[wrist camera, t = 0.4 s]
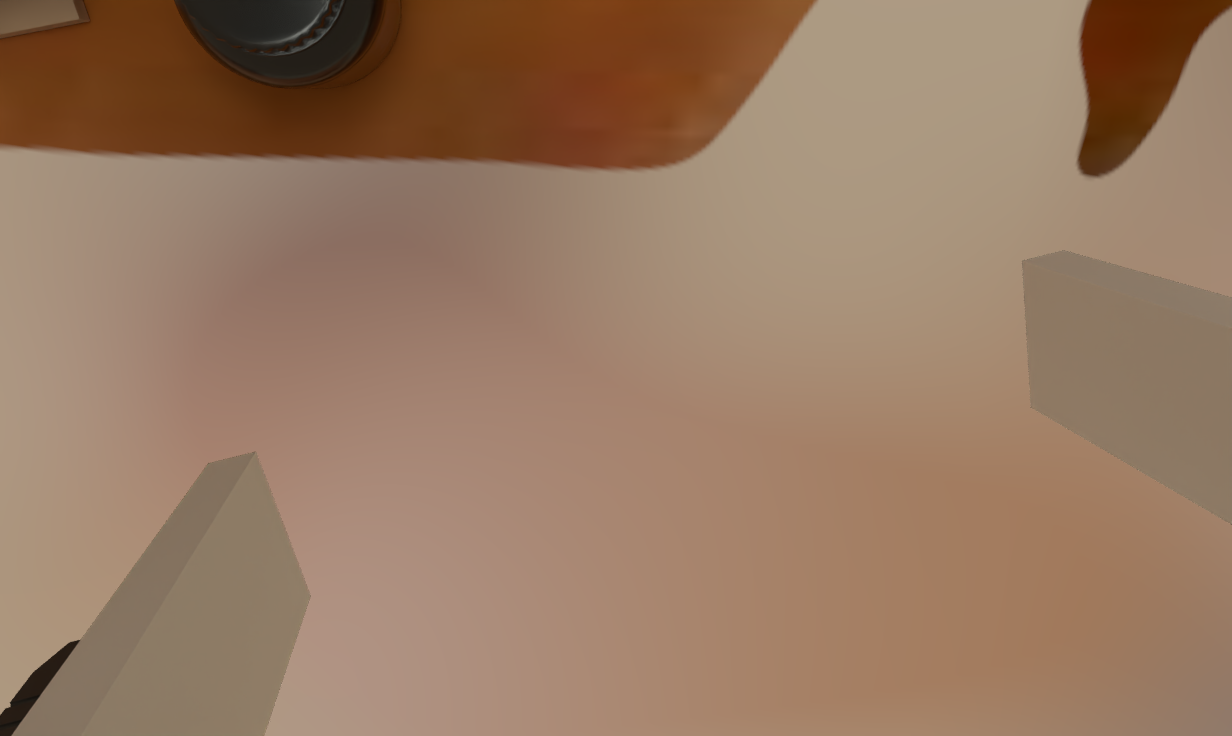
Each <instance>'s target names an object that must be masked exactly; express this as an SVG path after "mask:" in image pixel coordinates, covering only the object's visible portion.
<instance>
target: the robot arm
mask: <svg viewBox="0 0 1232 736" xmlns="http://www.w3.org/2000/svg"><path fill="white" fill-rule="evenodd" d="M1022 268H1023V285H1024V301H1025V318H1026V335H1027V352H1028V368H1029V385H1030V402H1031V408H1033V409H1035V410H1036V411H1038V412H1040V413H1041V414H1043V415H1045V416H1047V417H1048V418H1050V419H1052V420H1053V421H1055V422H1057V423H1059V424H1060V425H1062V426H1064V427H1065V428H1067V429H1069V430H1071V431H1072V432H1074V433H1076V434H1077V435H1079V436H1081V437H1083V438H1084V439H1086V440H1088V441H1089V442H1091V443H1093V444H1095V445H1096V446H1098V447H1100V448H1101V449H1103V450H1105V451H1107V452H1108V453H1110V454H1112V455H1114V456H1115V457H1117V458H1118V459H1121V460H1122V461H1124V462H1125V463H1127V464H1129V465H1130V466H1132V467H1134V468H1136V469H1137V470H1139V471H1141V472H1142V473H1144V474H1146V475H1148V476H1149V477H1151V478H1153V479H1155V480H1156V481H1158V482H1160V483H1161V484H1163V485H1165V486H1166V487H1168V488H1170V489H1172V490H1173V491H1175V492H1177V493H1179V494H1180V495H1182V496H1184V497H1185V498H1187V499H1189V500H1190V501H1192V502H1194V503H1196V504H1197V505H1199V506H1201V507H1202V508H1204V509H1206V510H1208V511H1209V512H1211V513H1213V514H1214V515H1216V516H1218V517H1220V518H1221V519H1223V520H1225V521H1227V522H1228V523H1230V524H1232V297H1228V296H1225V295H1221V294H1218V293H1214V292H1211V291H1207V290H1203V289H1200V288H1196V287H1193V286H1189V285H1186V284H1182V283H1179V282H1175V281H1171V280H1168V279H1164V278H1161V277H1157V276H1154V275H1150V274H1146V273H1143V272H1139V271H1136V270H1132V269H1129V268H1125V267H1122V266H1118V265H1115V264H1111V263H1107V262H1104V261H1100V260H1097V259H1093V258H1090V257H1086V256H1083V255H1079V254H1075V253H1072V252H1068V251H1065V250H1063V251H1059V252H1055V253H1051V254H1047V255H1043V256H1039V257H1035V258H1031V259H1027V260H1023V261H1022ZM310 597H311V595H310V592H309V590H308V587H307V584H306V582H305V579H304V576H303V574H302V571H301V568H300V566H299V563H298V561H297V558H296V555H295V553H294V550H293V548H292V545H291V542H290V540H289V537H288V534H287V532H286V529H285V526H284V524H283V521H282V519H281V516H280V513H279V511H278V508H277V505H276V503H275V500H274V497H273V495H272V493H271V489H270V487H269V484H268V482H267V479H266V476H265V474H264V471H263V468H262V466H261V463H260V461H259V458H258V455H257V453H256V452H252V453H248V454H244V455H240V456H236V457H232V458H228V459H224V460H220V461H216V462H212V463H208V464H207V466H206V467H205V468H204V470H203V471H202V473H201V474H200V475H199V477H198V478H197V480H196V481H195V482H194V484H193V485H192V486H191V488H190V489H189V491H188V492H187V493H186V495H185V496H184V498H183V499H182V500H181V502H180V503H179V505H178V506H177V507H176V509H175V510H174V511H173V513H172V514H171V516H170V517H169V519H168V520H167V521H166V523H165V524H164V525H163V527H162V528H161V529H160V531H159V532H158V534H157V535H156V537H155V538H154V539H153V540H152V542H151V543H150V545H149V546H148V547H147V549H146V550H145V552H144V553H143V554H142V556H141V557H140V559H139V560H138V561H137V563H136V564H135V565H134V567H133V568H132V570H131V571H130V572H129V574H128V575H127V576H126V578H125V579H124V581H123V582H122V583H121V585H120V586H119V587H118V589H117V590H116V592H115V593H114V594H113V596H112V597H111V599H110V600H109V602H108V603H107V604H106V606H105V607H104V608H103V610H102V611H101V612H100V614H99V615H98V617H97V618H96V619H95V621H94V622H93V623H92V625H91V626H90V628H89V629H88V630H87V632H86V633H85V635H84V636H83V637H82V639H81V640H77V641H74V642H70V643H68V644H67V645H66V646H64V648H62V649H61V650H60V651H58V652H57V653H56V654H55V655H54V656H52V657H51V658H50V659H49V660H48V661H46V662H45V663H44V664H43V665H41V666H40V667H39V668H38V669H37V670H35V671H34V672H33V673H32V675H31V676H30V677H29V678H28V680H27V681H26V682H25V684H24V685H23V686H22V688H21V689H20V690H19V692H18V693H17V694H16V695H15V697H14V698H13V699H12V701H11V702H10V704H11V707H9V708H6V709H5V710H4V711H3V712H2V714H1V715H0V736H264V735H265V732H266V729H267V725H268V723H269V720H270V717H271V714H272V711H273V708H274V705H275V702H276V699H277V696H278V693H279V690H280V687H281V684H282V681H283V678H284V675H285V672H286V669H287V666H288V663H289V660H290V657H291V654H292V651H293V648H294V645H295V642H296V639H297V636H298V633H299V630H300V626H301V624H302V621H303V618H304V615H305V612H306V609H307V606H308V603H309V600H310Z"/></svg>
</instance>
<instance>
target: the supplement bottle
mask: <svg viewBox="0 0 1232 736" xmlns="http://www.w3.org/2000/svg"><path fill="white" fill-rule="evenodd" d="M174 2H175V4H176V7H177V9H178V11H179V14H180V16H181V17H182V19H183V21H184V23H185V25H186V26H187V28H188V30H189V31H190V33H191V34H192V35H193V37H194V38H195V39H196V41H197V42H198V43H199V44H200V45H201V46H202V47H203V49H204V50H205V51H206V52H207V53H208V54H210V55H211V56H212V57H213V58H214V59H215V60H216V61H218V62H219V63H220V64H222V65H223V66H225V67H226V68H228V69H229V70H231V71H232V72H234V73H236V74H238V75H240V76H242V77H244V78H247V79H249V80H251V81H254V82H257V83H261V84H264V85H268V86H273V87H279V88H334V87H339V86H344V85H347V84H351V83H353V82H356V81H358V80H360V79H362V78H363V77H365V76H367V75H368V74H369V73H371V72H372V71H373V70H374V69H376V68H377V67H378V66H379V65H380V64H381V63H382V61H383V60H384V59H385V58H386V56H387V55H388V53H389V52H390V50H391V48H392V46H393V44H394V42H395V39H396V36H397V34H398V30H399V26H400V19H401V0H174Z"/></svg>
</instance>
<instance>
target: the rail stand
mask: <svg viewBox="0 0 1232 736" xmlns="http://www.w3.org/2000/svg"><path fill="white" fill-rule="evenodd" d="M88 21H90V19H89V16H88V13H87V11H86V8H85V5H84V2H83V0H0V39H1V38H6V37H11V36H16V35H21V34H27V33H32V32H37V31H42V30H47V29H52V28H57V27H63V26H68V25H73V24H78V23H83V22H88Z"/></svg>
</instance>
